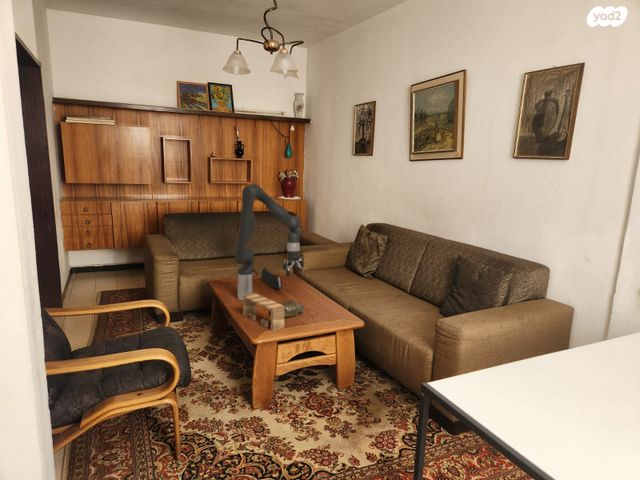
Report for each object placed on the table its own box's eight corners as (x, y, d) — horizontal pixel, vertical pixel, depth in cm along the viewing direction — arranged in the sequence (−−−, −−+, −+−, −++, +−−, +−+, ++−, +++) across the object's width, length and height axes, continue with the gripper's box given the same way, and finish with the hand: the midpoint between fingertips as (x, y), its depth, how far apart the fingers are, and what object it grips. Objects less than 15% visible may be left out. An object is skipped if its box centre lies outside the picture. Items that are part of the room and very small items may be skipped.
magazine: (259, 268, 308) (275, 265, 282) (263, 267, 309) (280, 265, 283) (262, 290, 306) (278, 290, 281) (266, 290, 308) (283, 289, 282)
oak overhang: (243, 315, 238) (242, 295, 236) (253, 312, 243) (253, 292, 241) (273, 330, 217) (273, 309, 215) (284, 327, 222) (284, 306, 220)
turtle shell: (265, 302, 244) (296, 293, 251) (268, 316, 246) (299, 306, 253) (273, 311, 229) (305, 301, 236) (276, 325, 232) (308, 315, 238)
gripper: (298, 247, 253) (298, 272, 256) (280, 250, 243) (280, 276, 246) (306, 248, 247) (306, 274, 250) (288, 252, 238) (288, 278, 241)
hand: (293, 275), depth 248 cm, fingers open, 8 cm apart
